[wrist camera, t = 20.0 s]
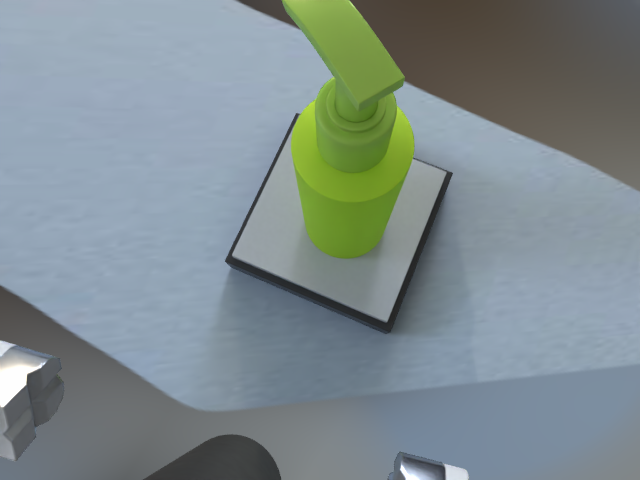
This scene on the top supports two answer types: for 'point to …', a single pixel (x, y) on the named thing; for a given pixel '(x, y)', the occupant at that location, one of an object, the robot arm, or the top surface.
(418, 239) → the kitchen scale
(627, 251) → the top surface
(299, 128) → the soap dispenser
